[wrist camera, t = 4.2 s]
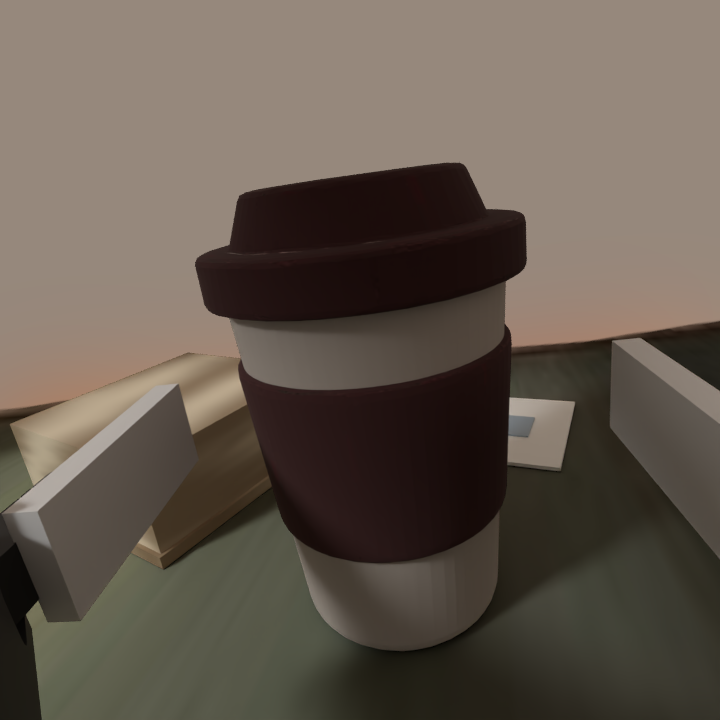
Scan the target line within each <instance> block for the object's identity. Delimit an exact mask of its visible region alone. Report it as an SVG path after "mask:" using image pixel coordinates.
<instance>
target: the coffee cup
mask: <svg viewBox="0 0 720 720" xmlns="http://www.w3.org/2000/svg"><path fill="white" fill-rule="evenodd" d="M526 259H527V257H526V221H525V217H524V215H523V214H522V213H520V212H517V211H512V210H498V209H497V210H495V209H494V210H493V209H486V208H485V206H484V204H483V202H482V199H481V197H480V195H479V194H478V191H477V189H476V187H475V185H474V183H473V181H472V179H471V177H470V174H469V172H468V170H467V168H466V167H465V166H464V165H463V164H461V163H440V164H431V165H423V166H415V167H407V168H400V169H392V170H385V171H378V172H371V173H363V174H356V175H349V176H342V177H334V178H327V179H320V180H313V181H307V182H301V183H294V184H288V185H282V186H276V187H270V188H264V189H258V190H254V191H250V192H246V193H244V194H242V195H240V196H239V199H238V201H237V205H236V211H235V217H234V223H233V228H232V235H231V241H230V245H228V246H225V247H221V248H219V249H215V250H212V251H209V252H207V253H205V254H203V255H201V256H200V257H198V258H197V260H196V262H195V267H196V271H197V275H198V279H199V284H200V287H201V292H202V296H203V300H204V305H205V306H206V308H207V309H208V310H209V311H210V312H211V313H213V314H215V315H218V316H222V317H228V318H229V319H230V322H231V326H232V329H233V332H234V336H235V339H236V343H237V346H238V349H239V353H240V356H241V360H240V362H239V364H238V373H239V379H240V382H241V386H242V389H243V392H244V395H245V399H246V402H247V405H248V409H249V412H250V415H251V419H252V422H253V425H254V429H255V432H256V435H257V439H258V442H259V445H260V448H261V452H262V455H263V458H264V462H265V465H266V468H267V472H268V475H269V478H270V482H271V485H272V488H273V492H274V495H275V498H276V501H277V505H278V508H279V511H280V514H281V517H282V519H283V522H284V523H285V525H286V526H287V528H288V530H289V531H290V532H291V533H292V534H293V536H294V540H295V543H296V547H297V550H298V553H299V557H300V560H301V564H302V567H303V570H304V574H305V577H306V581H307V584H308V587H309V591H310V594H311V597H312V600H313V603H314V605H315V607H316V608H317V610H318V612H319V613H320V615H321V616H322V618H323V619H324V620H325V621H326V622H327V623H328V624H329V626H330V627H332V628H333V629H334V630H336V631H337V632H338V633H340V634H341V635H342V636H344V637H345V638H347V639H349V640H351V641H354V642H356V643H358V644H361V645H364V646H368V647H372V648H376V649H380V650H393V651H408V650H418V649H423V648H427V647H432V646H435V645H437V644H440V643H442V642H445V641H447V640H450V639H452V638H454V637H455V636H457V635H459V634H460V633H462V632H464V631H465V630H467V629H468V628H469V627H470V626H471V625H472V624H474V623H475V622H476V621H477V620H478V619H479V618H480V617H481V615H482V614H483V613H484V612H485V610H486V608H487V607H488V605H489V604H490V602H491V600H492V597H493V594H494V591H495V588H496V584H497V579H498V549H499V512H500V508H501V506H502V503H503V501H504V498H505V494H506V486H507V462H508V432H509V403H510V374H511V345H512V344H511V333H510V330H509V329H508V327H507V326H506V325H505V287H506V284H505V283H506V281H507V280H509V279H510V278H512V277H514V276H515V275H517V274H519V273H520V272H521V271H522V270H523V269H524V267H525V265H526V261H527V260H526Z"/></svg>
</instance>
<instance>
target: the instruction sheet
mask: <svg viewBox="0 0 720 720" xmlns="http://www.w3.org/2000/svg"><path fill="white" fill-rule="evenodd" d="M574 407H575V402H572V401H556V400H540V399H524V398H510V403H509V432H508V462H507V465H512V466H520V467H528V468H536V469H544V470H553V471H561V467H562V462H563V458H564V453H565V449H566V444H567V439H568V435H569V430H570V425H571V421H572V416H573V412H574Z"/></svg>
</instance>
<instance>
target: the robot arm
mask: <svg viewBox="0 0 720 720" xmlns="http://www.w3.org/2000/svg"><path fill="white" fill-rule="evenodd" d="M610 428H611V429H612V430H613V432H614V433H615V434H616V435H617V436H618V438H619V439H620V440H621V441H622V442H623V444H624V445H625V446H626V447H627V448H628V450H629V451H630V452H631V453H632V454H633V456H634V457H635V458H636V459H637V460H638V462H639V463H640V464H641V465H642V466H643V468H644V469H645V470H646V471H647V472H648V474H649V475H650V476H651V477H652V478H653V480H654V481H655V482H656V483H657V484H658V486H659V487H660V488H661V489H662V490H663V492H664V493H665V494H666V495H667V496H668V498H669V499H670V500H671V501H672V502H673V504H674V505H675V506H676V507H677V508H678V510H679V511H680V512H681V513H682V514H683V516H684V517H685V518H686V519H687V520H688V522H689V523H690V524H691V525H692V526H693V528H694V529H695V530H696V531H697V532H698V534H699V535H700V536H701V537H702V538H703V540H704V541H705V542H706V543H707V544H708V546H709V547H710V548H711V549H712V550H713V552H714V553H715V554H716V555H717V556H718V558H719V559H720V391H719V390H717V389H716V388H714V387H713V386H711V385H710V384H708V383H707V382H705V381H704V380H702V379H701V378H699V377H698V376H696V375H695V374H693V373H692V372H690V371H689V370H687V369H686V368H684V367H683V366H681V365H680V364H678V363H677V362H675V361H674V360H672V359H671V358H669V357H668V356H666V355H665V354H663V353H662V352H660V351H659V350H658V349H656V348H655V347H653V346H652V345H650V344H649V343H647V342H646V341H644V340H643V339H641V338H635V339H625V340H614V341H612V362H611V399H610ZM198 460H199V458H198V455H197V451H196V447H195V443H194V440H193V436H192V432H191V428H190V425H189V421H188V417H187V413H186V410H185V406H184V402H183V398H182V395H181V391H180V387H179V383H178V384H168V385H158V386H155V387H154V388H152V389H151V390H150V391H149V392H148V393H146V394H145V395H144V396H143V397H142V398H140V399H139V400H138V401H137V402H136V403H134V404H133V405H132V406H131V407H130V408H128V409H127V410H126V411H125V412H124V413H122V414H121V415H120V416H119V417H118V418H116V419H115V420H114V421H113V422H112V423H110V424H109V425H108V426H107V427H106V428H104V429H103V430H102V431H101V432H99V433H98V434H97V435H96V436H95V437H93V438H92V439H91V440H90V441H89V442H87V443H86V444H85V445H84V446H83V447H81V448H80V449H79V450H78V451H77V452H75V453H74V454H73V455H72V456H71V457H69V458H68V459H67V460H66V461H65V462H63V463H62V464H61V465H60V466H59V467H57V468H56V469H55V470H54V471H53V472H51V473H49V474H47V475H46V476H45V477H44V478H42V479H41V480H40V481H39V482H38V483H36V484H35V485H34V486H33V488H32V489H29V490H28V491H27V492H26V493H24V494H23V495H22V496H21V498H20V499H17V500H16V501H15V502H13V503H12V504H11V505H10V506H9V507H7V508H6V509H5V510H4V511H3V512H1V513H0V720H42V718H41V709H40V700H39V691H38V681H37V672H36V663H35V654H34V645H33V636H32V628H31V626H30V623H29V621H28V619H27V617H26V614H27V612H28V611H29V610H30V609H31V608H32V607H33V606H34V604H35V603H36V602H37V601H39V603H40V605H41V608H42V610H43V612H44V615H45V617H46V619H47V622H69V621H81V620H82V619H83V617H84V616H85V615H86V613H87V612H88V610H89V609H90V608H91V606H92V605H93V604H94V602H95V601H96V600H97V598H98V597H99V595H100V594H101V593H102V591H103V590H104V589H105V587H106V586H107V584H108V583H109V582H110V580H111V579H112V578H113V576H114V575H115V574H116V572H117V571H118V569H119V568H120V567H121V565H122V564H123V563H124V561H125V560H126V558H127V557H128V556H129V554H130V553H131V552H132V550H133V549H134V548H135V546H136V545H137V543H138V542H139V541H140V539H141V538H142V537H143V535H144V534H145V533H146V531H147V530H148V528H149V527H150V526H151V524H152V523H153V522H154V520H155V519H156V517H157V516H158V515H159V513H160V512H161V511H162V509H163V508H164V507H165V505H166V504H167V502H168V501H169V500H170V498H171V497H172V496H173V494H174V493H175V492H176V490H177V489H178V487H179V486H180V485H181V483H182V482H183V481H184V479H185V478H186V476H187V475H188V474H189V472H190V471H191V470H192V468H193V467H194V466H195V464H196V463H197V461H198Z"/></svg>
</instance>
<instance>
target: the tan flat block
mask: <svg viewBox="0 0 720 720" xmlns="http://www.w3.org/2000/svg"><path fill="white" fill-rule="evenodd" d="M240 360H241V359H240V358H231V357H222V356H212V355H203V354H194V353H186V354H183V355H181V356H179V357H176V358H173V359H171V360H169V361H166V362H163V363H161V364H158V365H156V366H153V367H151V368H149V369H146V370H144V371H141V372H139V373H136V374H134V375H131V376H129V377H126V378H124V379H121V380H119V381H116V382H114V383H111V384H109V385H106V386H104V387H101V388H99V389H96V390H94V391H91V392H89V393H86V394H84V395H81V396H79V397H76V398H74V399H71V400H69V401H66V402H64V403H61V404H59V405H56V406H54V407H51V408H49V409H46V410H44V411H41V412H39V413H36V414H34V415H31V416H29V417H26V418H24V419H21V420H19V421H16V422H14V423H11V424H10V426H11V429H12V431H13V434H14V436H15V439H16V441H17V444H18V447H19V449H20V452H21V454H22V457H23V459H24V462H25V464H26V467H27V470H28V472H29V475H30V477H31V480H32V482H33V485H35V484H36V483H38V482H39V481H40V480H41V479H42V478H44V477H45V476H46V475H47V474H49V473H51V472H53V471H54V470H55V469H56V468H57V467H59V466H60V465H61V464H62V463H63V462H65V461H66V460H67V459H68V458H69V457H71V456H72V455H73V454H74V453H75V452H77V451H78V450H79V449H80V448H81V447H83V446H84V445H85V444H86V443H87V442H89V441H90V440H91V439H92V438H93V437H95V436H96V435H97V434H98V433H99V432H101V431H102V430H103V429H104V428H106V427H107V426H108V425H109V424H110V423H112V422H113V421H114V420H115V419H116V418H118V417H119V416H120V415H121V414H122V413H124V412H125V411H126V410H127V409H128V408H130V407H131V406H132V405H133V404H134V403H136V402H137V401H138V400H139V399H140V398H142V397H143V396H144V395H145V394H146V393H148V392H149V391H150V390H151V389H152V388H154V387H155V386H158V385H168V384H178V383H179V387H180V391H181V395H182V398H183V402H184V406H185V410H186V413H187V417H188V421H189V425H190V428H191V432H192V436H193V440H194V443H195V447H196V451H197V455H198V458H199V460H198V461H197V463H196V464H195V466H194V467H193V468H192V470H191V471H190V472H189V474H188V475H187V476H186V478H185V479H184V481H183V482H182V483H181V485H180V486H179V487H178V489H177V490H176V492H175V493H174V494H173V496H172V497H171V498H170V500H169V501H168V502H167V504H166V505H165V507H164V508H163V509H162V511H161V512H160V513H159V515H158V516H157V517H156V519H155V520H154V522H153V523H152V524H151V526H150V527H149V528H148V530H147V531H146V533H145V534H144V535H143V537H142V538H141V539H140V541H139V542H138V543H137V545H136V546H135V548H134V549H133V550H132V552H131V553H133V554H135V555H137V556H139V557H140V558H142V559H144V560H146V561H148V562H150V563H152V564H154V565H156V566H158V567H160V568H162V569H164V568H166V567H167V566H168V565H170V564H171V563H172V562H173V561H175V560H176V559H177V558H179V557H180V556H181V555H183V554H184V553H185V552H187V551H188V550H189V549H191V548H192V547H193V546H195V545H196V544H197V543H198V542H200V541H201V540H202V539H204V538H205V537H206V536H208V535H209V534H210V533H212V532H213V531H214V530H216V529H217V528H218V527H219V526H221V525H222V524H223V523H225V522H226V521H227V520H229V519H230V518H231V517H233V516H234V515H235V514H237V513H238V512H239V511H240V510H242V509H243V508H244V507H246V506H247V505H248V504H250V503H251V502H252V501H254V500H255V499H256V498H258V497H259V496H260V495H262V494H263V493H264V492H265V491H267V490H268V489H269V488H271V487H272V485H271V482H270V478H269V475H268V472H267V468H266V465H265V462H264V458H263V455H262V452H261V448H260V445H259V442H258V439H257V435H256V432H255V429H254V425H253V422H252V419H251V415H250V412H249V409H248V405H247V402H246V399H245V395H244V392H243V389H242V386H241V382H240V379H239V373H238V364H239V362H240Z"/></svg>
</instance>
